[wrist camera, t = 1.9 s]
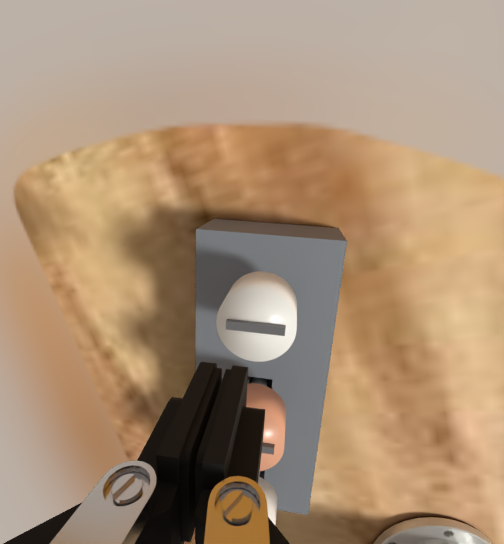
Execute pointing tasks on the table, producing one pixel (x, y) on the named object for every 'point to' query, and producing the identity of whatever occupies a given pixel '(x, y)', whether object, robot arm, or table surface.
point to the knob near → (258, 317)
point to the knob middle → (269, 420)
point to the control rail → (309, 336)
